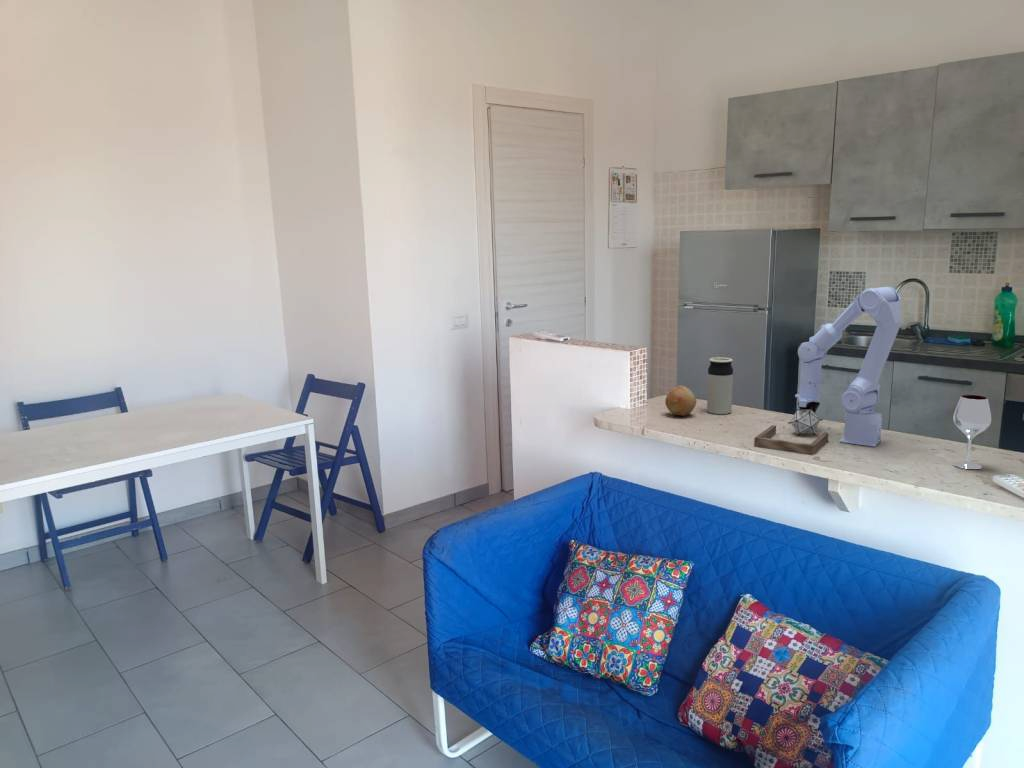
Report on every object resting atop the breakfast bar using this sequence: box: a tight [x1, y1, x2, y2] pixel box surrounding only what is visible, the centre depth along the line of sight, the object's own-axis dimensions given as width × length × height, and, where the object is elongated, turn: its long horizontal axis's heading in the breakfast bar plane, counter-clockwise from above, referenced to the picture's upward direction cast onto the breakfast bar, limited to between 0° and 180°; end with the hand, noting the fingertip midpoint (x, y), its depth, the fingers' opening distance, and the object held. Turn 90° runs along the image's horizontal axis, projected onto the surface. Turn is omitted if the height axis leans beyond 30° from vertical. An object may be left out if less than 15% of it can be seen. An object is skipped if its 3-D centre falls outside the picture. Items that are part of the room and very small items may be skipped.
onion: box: [664, 385, 697, 417], centre depth 249 cm, size 10×10×10 cm
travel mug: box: [706, 356, 734, 415], centre depth 252 cm, size 8×8×18 cm
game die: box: [787, 407, 824, 437], centre depth 224 cm, size 9×8×10 cm
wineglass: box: [952, 394, 992, 470], centre depth 190 cm, size 8×8×18 cm
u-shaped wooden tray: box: [753, 425, 830, 456], centre depth 215 cm, size 16×16×2 cm
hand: (807, 425), depth 229 cm, fingers closed
